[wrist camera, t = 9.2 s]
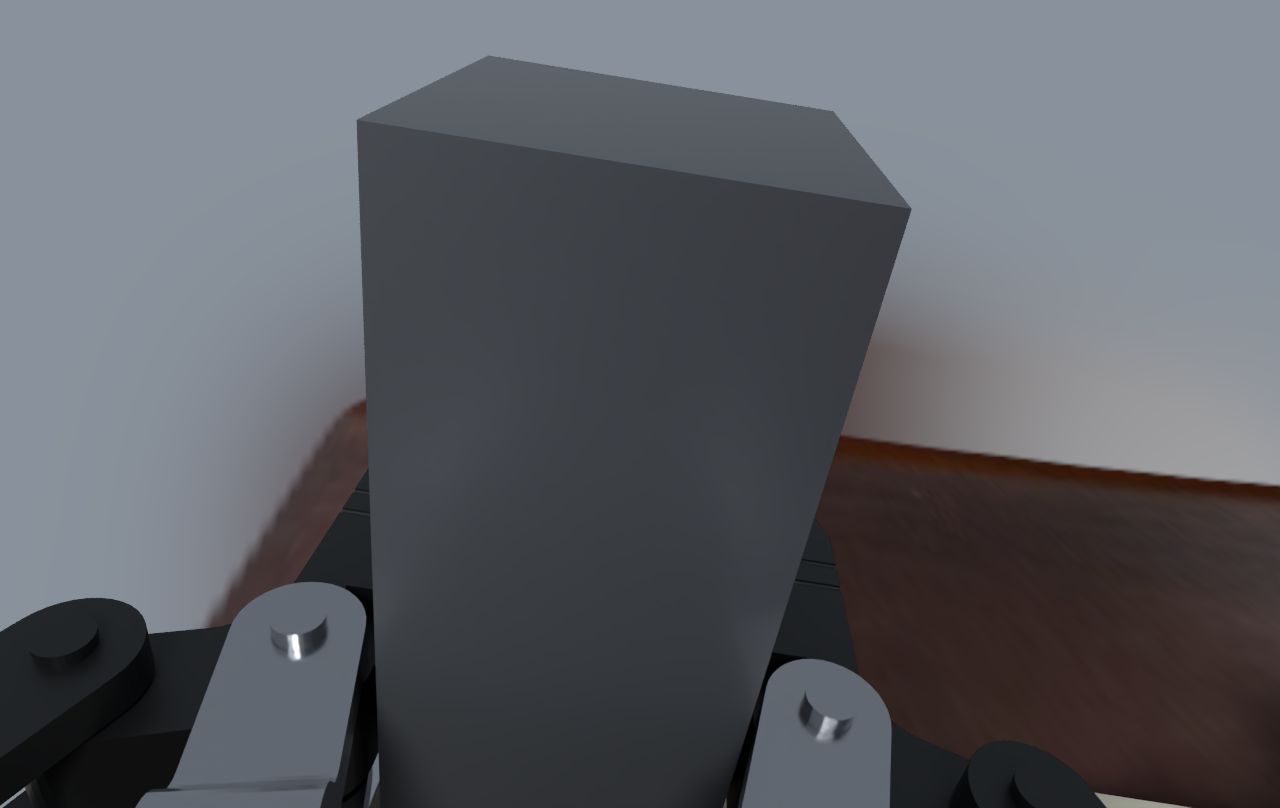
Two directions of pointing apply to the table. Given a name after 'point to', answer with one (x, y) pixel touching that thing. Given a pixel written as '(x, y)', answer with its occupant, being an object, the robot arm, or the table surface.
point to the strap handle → (598, 420)
